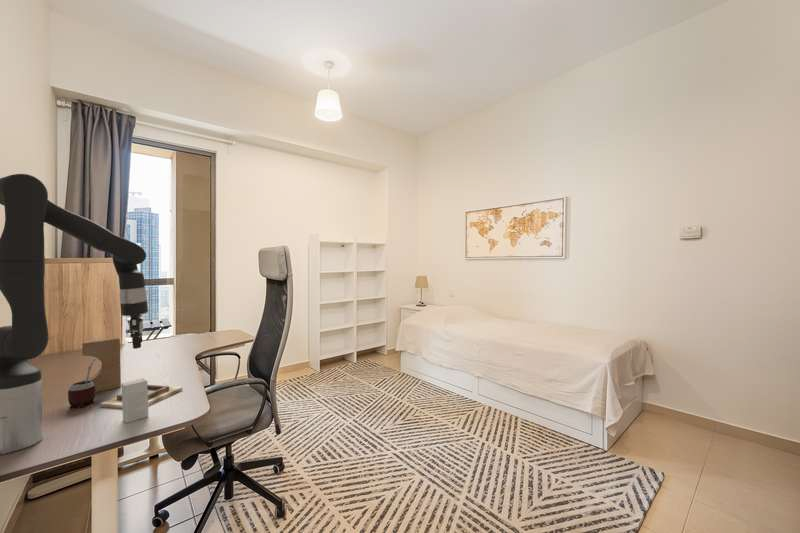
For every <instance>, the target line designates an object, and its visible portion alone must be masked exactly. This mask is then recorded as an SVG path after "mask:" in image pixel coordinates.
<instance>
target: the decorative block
mask: <svg viewBox="0 0 800 533" xmlns="http://www.w3.org/2000/svg"><path fill="white" fill-rule="evenodd" d="M81 345H82V346H81V347H82V349H81V350H82V352H81V353H82V355H83V356H84V357H93V358H96V359H98V360H99V361H100V362H101V367H100V369H99V370H98V371H97V372H96V373H94V374H93V375H92V376H89V378H88V381H92V382H93V383H94V385H95V394H96V393H99V392H100V393H101V392H105V391H110V390H114V389H119V388H122V376H121V374H122V373H121V372H122V370H121V339H120V337H118V336H114V337H113V336H112V337H106V338H100V339H99V338H97V339H91V340H83V341H82V342H81ZM82 381H86V378H84V379H83V380H82Z"/></svg>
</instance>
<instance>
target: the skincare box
mask: <svg viewBox="0 0 800 533" xmlns="http://www.w3.org/2000/svg"><path fill="white" fill-rule="evenodd" d="M147 385H148V380H147V379H145V378H144V377H143V378H138V379H134V380H130V381H129V380H128V381H125V382H121V394H122V409H121V410H122V420H123V421H124V423H125V424H128V423H131V422H134V421H138V420H141V419H144V418H148V417H149V405H148V387H147Z"/></svg>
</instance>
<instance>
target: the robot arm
mask: <svg viewBox="0 0 800 533" xmlns="http://www.w3.org/2000/svg"><path fill="white" fill-rule="evenodd" d="M0 205H2V206H3V208H4V227H3V230H2V232H1V235H0V292H1V293H2V295H3V297H4V299H5V300H6V301H7V304H8V305H9V308H10V311H11V325H4V326H0V455H2V454H4V455H6V453H7V454H9V453H12V452H15V451H16V452H17V451H19V450H24V449H27V448H29V447H31V446H33V445H36V444H37V443H39V442H41V441H42V439H43V437H44V436H43V434H44V433H43V432H44V431H43V430H44V428H43V399H42V398H43V395H42V394H43V393H42V392H43V391H42V386H43V385H42V371H41V369H40V368H38V367H37V366H34V365H33V364H32V363H30V361H29V360H32V359H35V358H37V357H39V356H40V355H42V354H43V353H44V352H45V350H46V349H47V347H48V343H49V329H48V320H47V315H46V306H45V302H46V301H45V300H46V299H45V277H46V276H45V275H46V273H45V271H46V263H45V262H46V260H45V258H46V256H45V223H46V224H47V225H50V226H52V227H53V228H56V229H58V230H60V231H61V232H64V233H66V234H68V235H70V236H71V237H74V238H75V239H76V240H79V241H81V242H83V243H84V244H86V245H88V246H89V247H91V248H94V249H95V250H97V251H100V252H103V253H104V252H105V253H109V254H111V255H112V264H113V265H114V269H115V271H116V274H117V276H118V283H119V284H118V285H119V286H118V287H119V303H120V305H119V306H120V314H121V316H122V317H129V319H128V320H127V324H128V326H129V328H128V329H129V330H128V331H129V333H130V335H129V336H130V338H131V342H132V349H135V350H136V349H141V347H142V342H143V333H142V332H143V328H144V325H143V324H144V318H143V317H142V315H144V314H146V313H148V312H149V308H148V306H149V305H148V296H147V291H146V284H145V283H146V282H145V277H144V273H142V272H141V271H140V270H139V269H138V265H139V264H142V263H143V262H145V260H146V258H147V253H146V251H145V249H144V248H143V247H142V246H141V245H139V244H137V243H136V242H134V241H131V240H129V239H126V238H124V237H122V236H119V235H117V234H115V233H113V232H112V231H110V230H109V229H107V228H105V227H104V226H102V225H100V224H98V223H97V222H95V221H92V220H91V219H88V218H87V217H85V216H81V215H79V214H76V213H74V212H72V211H69V210H67V209H65V208H63V207H62V206H59V205H57V204H56V203H54V202H52V201H51V200H50V199H49V192H48V188H47V186H46V185H45V184H44V183H43V181H42V180H40V179H39V178H37V177H36V176H34V175H31V174H28V173H27V174H26V173H16V174H15V173H14V174H9V175H6V176H3V177H0Z"/></svg>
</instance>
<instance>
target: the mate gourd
mask: <svg viewBox="0 0 800 533" xmlns="http://www.w3.org/2000/svg"><path fill="white" fill-rule="evenodd" d="M96 359H97V358H96ZM96 359H95V358H94V359H93V360H92V361H91V362H90V364H89V366H88V368H87V369H88V370H87V374H86V378H85V379H86V381H83V380H82V381H78V382H74V383H73V384H71V385H70V386H69V388H68V391H67V400H68V403H69V405H70V406H69V409H75V408H79V406H80V409H84V408H85V406H87V405H91V404H95V401H94V400H95V397H96V393H95V385H94V383H93V382H92V381H88V378H89V377H90V373H91V370H92V367H93V365H94V362H95V361H96Z"/></svg>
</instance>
